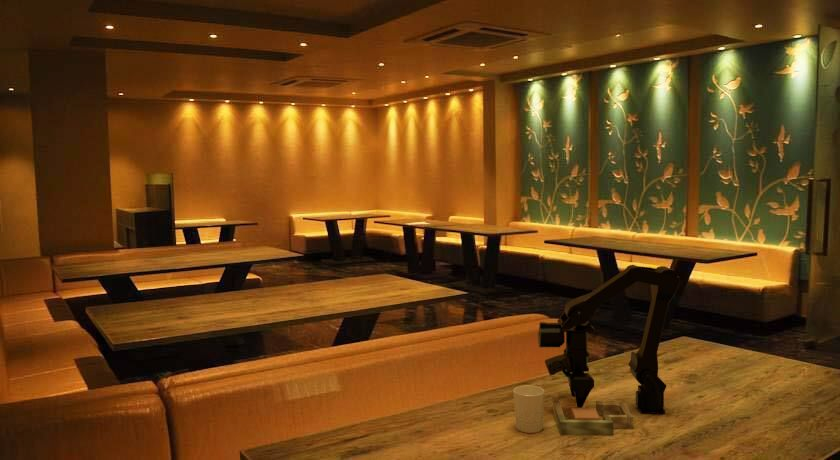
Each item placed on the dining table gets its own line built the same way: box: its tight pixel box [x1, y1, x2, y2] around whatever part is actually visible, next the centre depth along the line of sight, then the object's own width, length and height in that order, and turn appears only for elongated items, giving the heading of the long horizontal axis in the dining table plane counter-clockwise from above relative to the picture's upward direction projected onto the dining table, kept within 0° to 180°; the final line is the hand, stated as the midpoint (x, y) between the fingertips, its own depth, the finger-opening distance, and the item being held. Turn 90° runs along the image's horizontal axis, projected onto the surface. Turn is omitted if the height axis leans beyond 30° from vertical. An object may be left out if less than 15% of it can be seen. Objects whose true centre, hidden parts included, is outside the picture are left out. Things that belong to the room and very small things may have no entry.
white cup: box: [512, 385, 546, 434], centre depth 171 cm, size 8×8×10 cm
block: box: [570, 407, 601, 420], centre depth 171 cm, size 6×7×4 cm
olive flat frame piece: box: [552, 400, 634, 436], centre depth 174 cm, size 19×16×3 cm
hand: (576, 402), depth 183 cm, fingers open, 9 cm apart
